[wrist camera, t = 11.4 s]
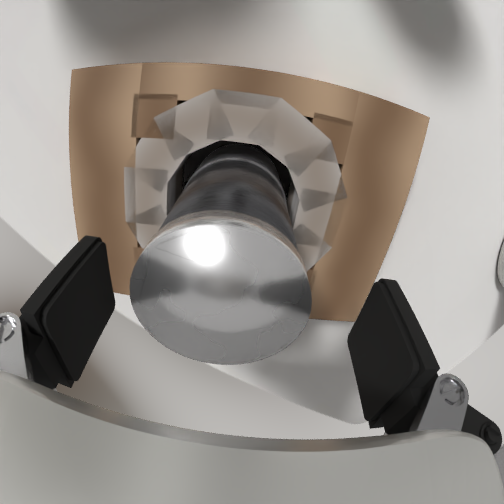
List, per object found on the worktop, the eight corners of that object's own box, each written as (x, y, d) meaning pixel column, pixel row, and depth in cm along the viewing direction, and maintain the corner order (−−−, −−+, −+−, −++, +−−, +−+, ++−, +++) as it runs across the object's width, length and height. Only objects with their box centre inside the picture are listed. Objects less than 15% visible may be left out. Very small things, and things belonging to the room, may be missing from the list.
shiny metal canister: (288, 149, 18) (335, 241, 8) (272, 228, 21) (287, 370, 11) (198, 137, 17) (121, 213, 7) (192, 218, 20) (139, 351, 10)
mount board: (399, 109, 16) (429, 117, 12) (343, 288, 24) (354, 321, 20) (103, 70, 14) (71, 69, 11) (107, 257, 22) (87, 287, 19)
